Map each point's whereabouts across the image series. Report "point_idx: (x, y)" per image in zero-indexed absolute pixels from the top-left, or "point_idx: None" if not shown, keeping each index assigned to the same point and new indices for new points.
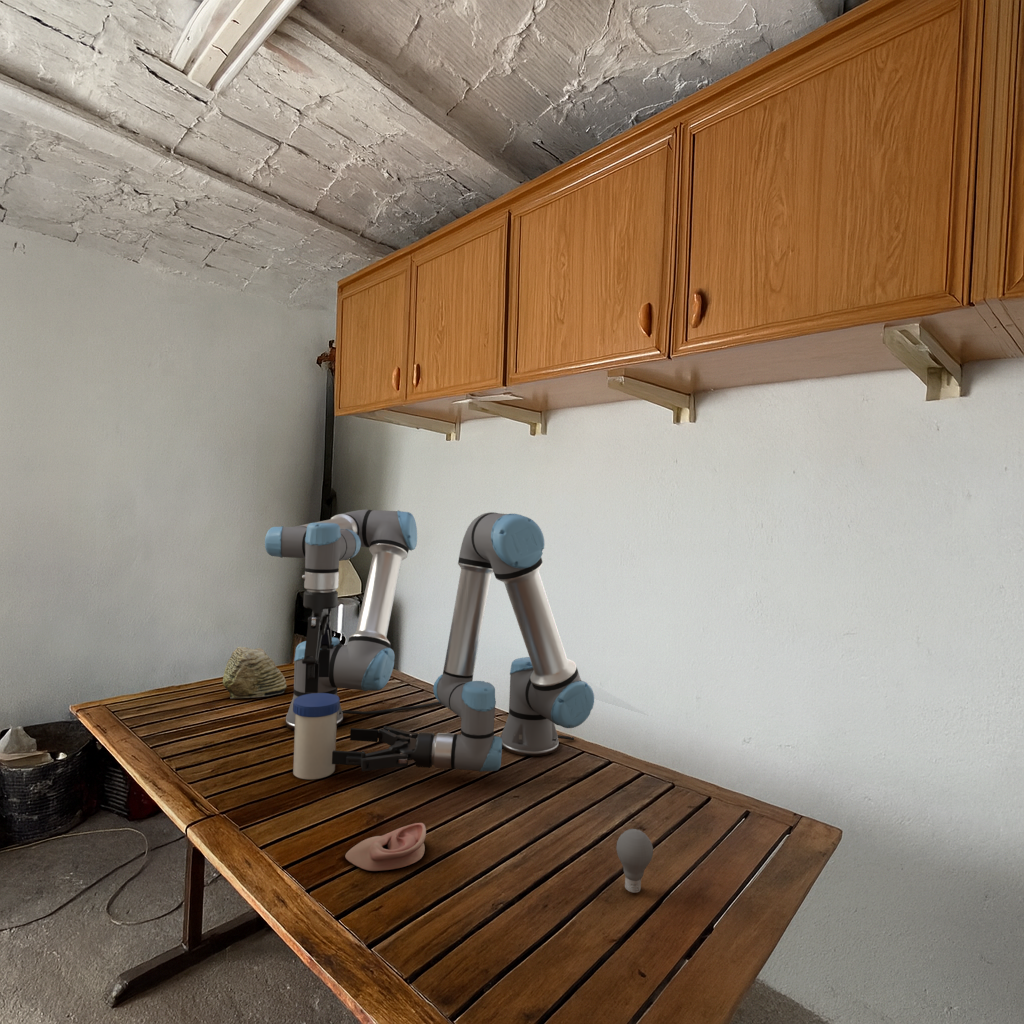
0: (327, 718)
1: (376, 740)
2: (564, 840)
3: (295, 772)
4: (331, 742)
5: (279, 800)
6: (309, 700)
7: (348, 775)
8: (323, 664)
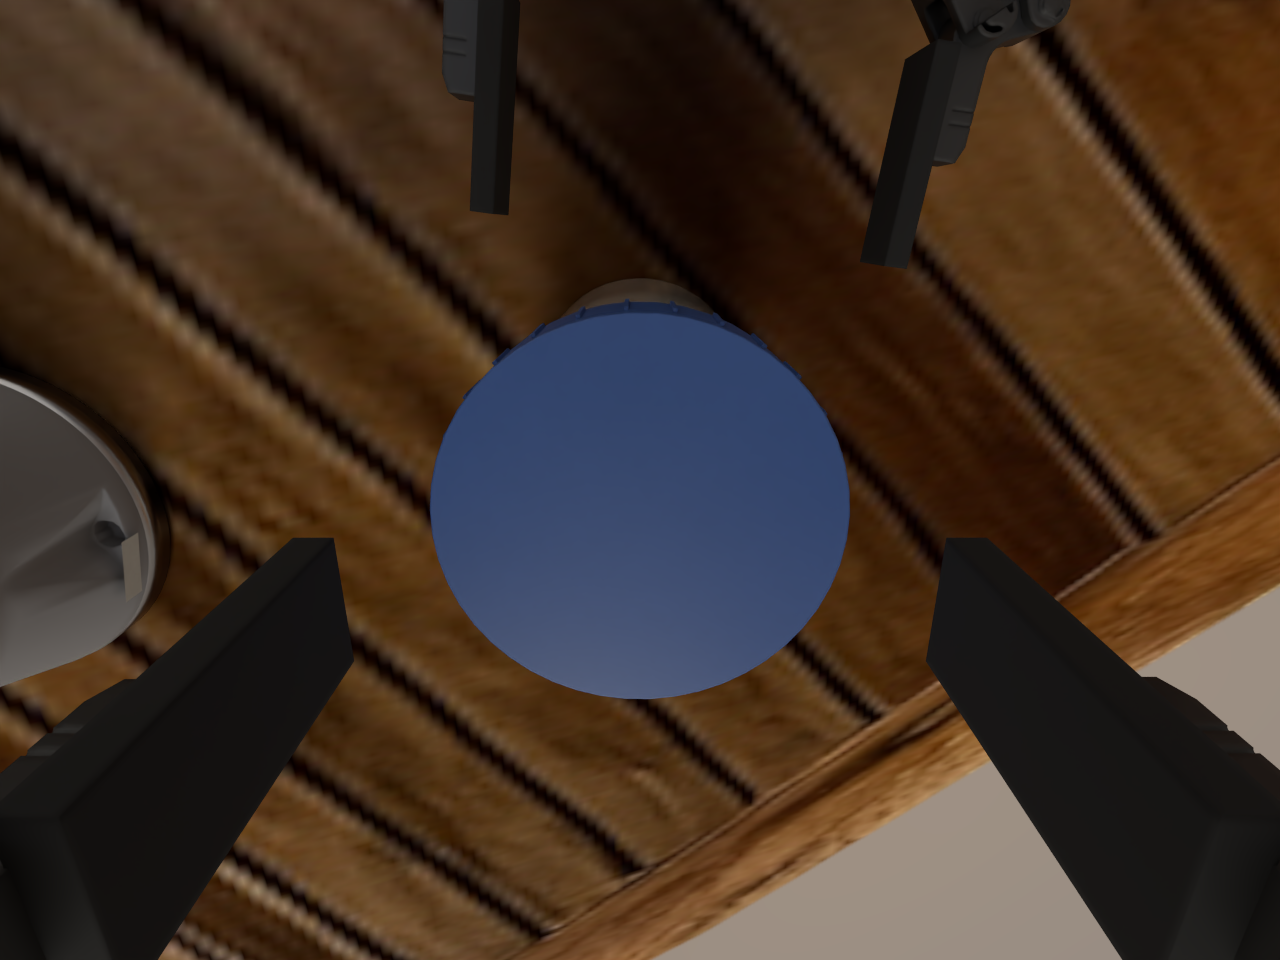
0: None
1: (517, 4)
2: None
3: None
4: (704, 310)
5: (936, 461)
6: (665, 581)
7: (695, 191)
8: (264, 699)
